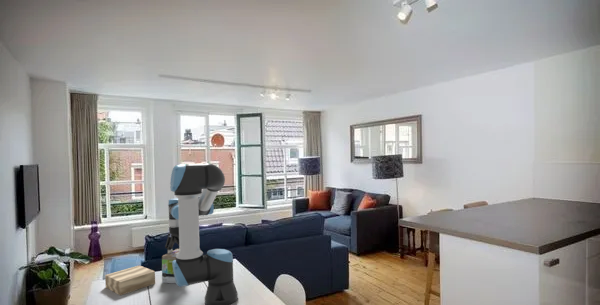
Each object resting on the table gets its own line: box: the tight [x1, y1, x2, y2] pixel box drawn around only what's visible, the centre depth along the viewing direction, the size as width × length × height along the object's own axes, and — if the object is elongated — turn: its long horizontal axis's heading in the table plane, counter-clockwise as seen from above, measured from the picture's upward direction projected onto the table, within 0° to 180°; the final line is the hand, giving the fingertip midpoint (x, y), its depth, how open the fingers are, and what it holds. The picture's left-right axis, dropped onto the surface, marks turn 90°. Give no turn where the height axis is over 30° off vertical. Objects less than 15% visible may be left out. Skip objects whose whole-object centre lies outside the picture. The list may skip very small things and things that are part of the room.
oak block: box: [104, 264, 156, 296], centre depth 173 cm, size 18×18×7 cm
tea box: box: [161, 248, 179, 284], centre depth 181 cm, size 15×10×15 cm, turn 168°
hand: (177, 263), depth 181 cm, fingers open, 13 cm apart
